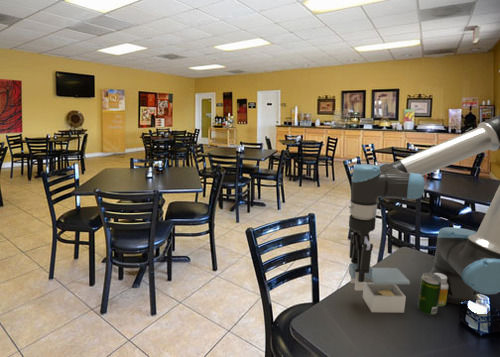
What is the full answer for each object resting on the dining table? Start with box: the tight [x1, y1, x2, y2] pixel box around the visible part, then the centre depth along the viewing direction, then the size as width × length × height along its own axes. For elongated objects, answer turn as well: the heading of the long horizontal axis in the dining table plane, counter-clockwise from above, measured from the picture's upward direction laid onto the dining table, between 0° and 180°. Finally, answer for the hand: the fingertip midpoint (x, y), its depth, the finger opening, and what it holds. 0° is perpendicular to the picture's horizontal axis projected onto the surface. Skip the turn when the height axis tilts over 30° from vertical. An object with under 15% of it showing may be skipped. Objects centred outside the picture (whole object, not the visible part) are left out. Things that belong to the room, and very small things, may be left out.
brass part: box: [377, 289, 396, 296], centre depth 100 cm, size 4×4×4 cm
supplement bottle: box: [434, 273, 449, 307], centre depth 102 cm, size 5×5×10 cm
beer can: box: [417, 272, 441, 316], centre depth 97 cm, size 5×5×12 cm
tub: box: [362, 282, 407, 314], centre depth 100 cm, size 10×8×6 cm
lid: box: [348, 263, 411, 285], centre depth 98 cm, size 17×9×4 cm, turn 90°
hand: (356, 285), depth 99 cm, fingers closed on lid, 3 cm apart
